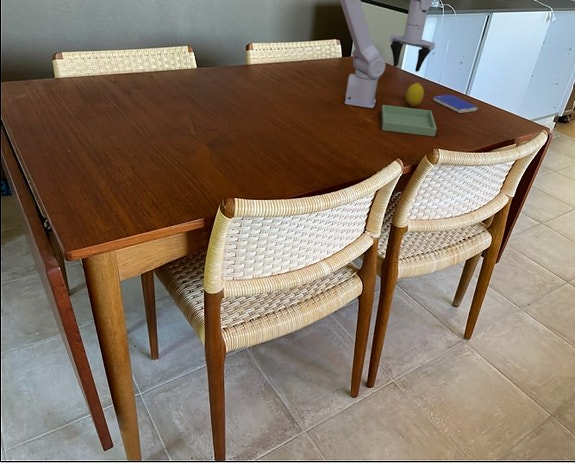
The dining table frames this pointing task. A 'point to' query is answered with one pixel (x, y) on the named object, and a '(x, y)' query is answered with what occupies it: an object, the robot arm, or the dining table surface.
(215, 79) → the dining table surface
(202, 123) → the dining table surface
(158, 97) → the dining table surface
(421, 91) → the lemon
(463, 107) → the hard drive
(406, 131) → the tray
